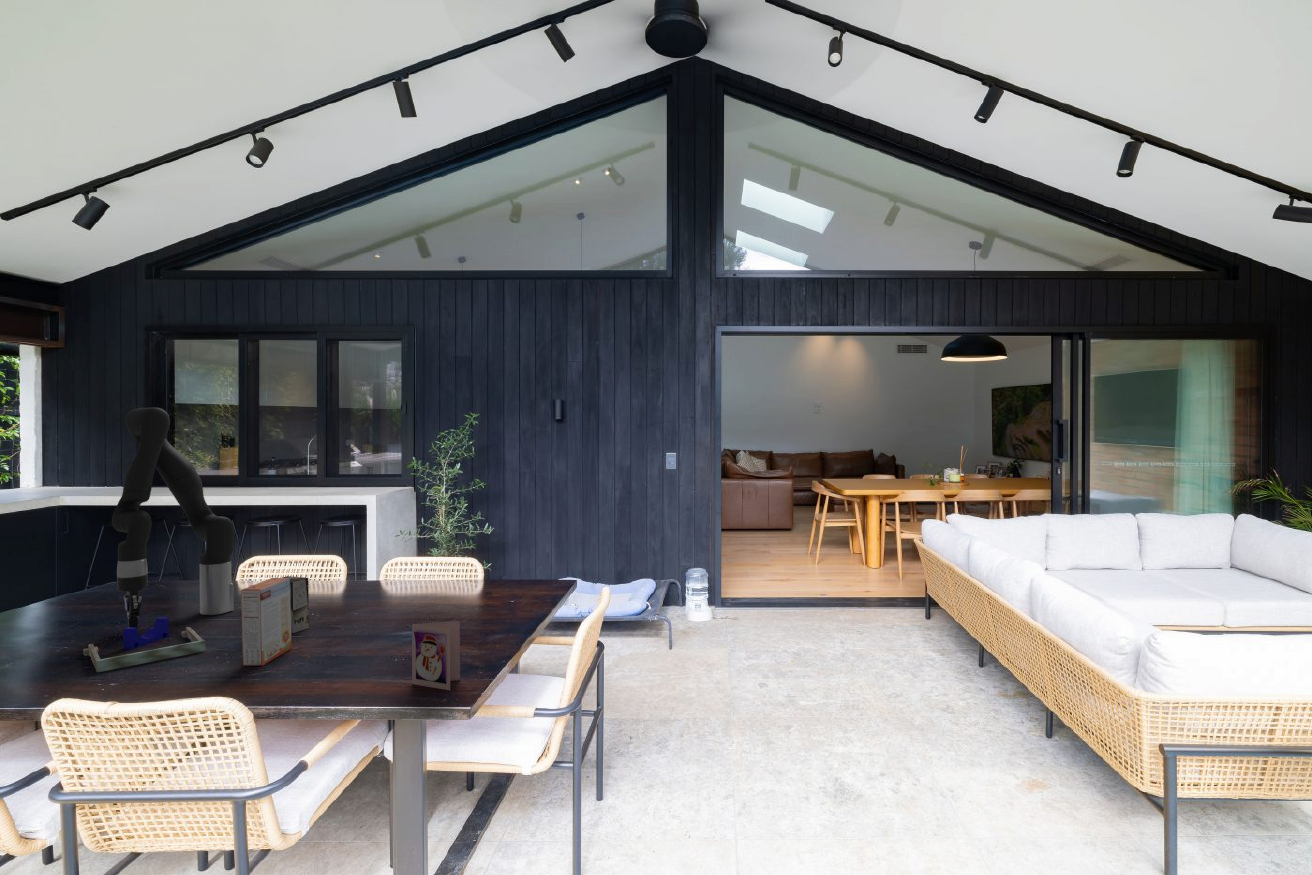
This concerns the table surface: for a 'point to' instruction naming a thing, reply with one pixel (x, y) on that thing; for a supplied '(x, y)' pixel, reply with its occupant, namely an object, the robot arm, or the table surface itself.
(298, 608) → the coffee box
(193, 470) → the robot arm
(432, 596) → the table surface
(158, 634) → the blue notched block
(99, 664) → the grey-green open frame
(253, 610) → the cracker box
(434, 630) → the greeting card
